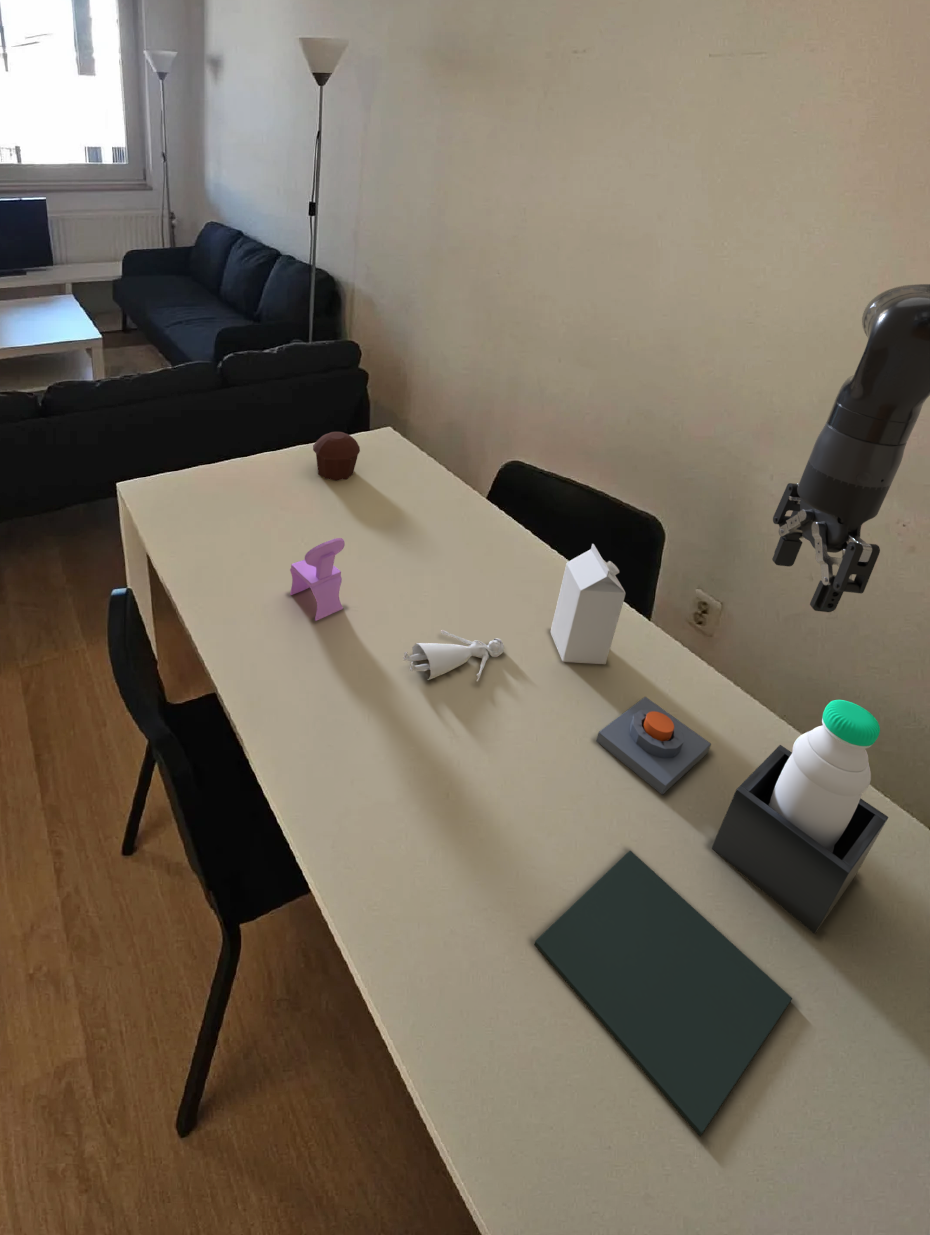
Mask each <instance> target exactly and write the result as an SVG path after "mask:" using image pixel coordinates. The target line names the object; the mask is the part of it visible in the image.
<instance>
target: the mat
mask: <svg viewBox="0 0 930 1235" xmlns="http://www.w3.org/2000/svg"><path fill="white" fill-rule="evenodd" d="M533 944H534V946H535V947H536V948H537V950H538V951H540V953H541V954H542V955H543V956H544V957H545V959H546V960H547V961H548V962H549V963H550V964H551V965H552V967H553V968H554V969H555V970H556V972H557V973H558V974H559V975H560V976H561V978H563V980H564V981H565V982H566V983H567V984H568V985H569V986H570V988H571V989H572V990H573V991H574V992H575V994H577V996H578V997H579V998H580V999H581V1000H582V1002H583V1003H584V1005H586V1006H587V1007H588V1009H589V1010H590V1011H591V1012H592V1013H593V1014H594V1016H595V1017H596V1018H597V1019H598V1020H599V1021H600V1023H602V1025H603V1026H604V1027H605V1028H606V1029H607V1031H608V1032H609V1033H610V1034H611V1035H612V1036H613V1038H615V1040H616V1041H617V1042H618V1043H619V1044H620V1046H621V1047H622V1048H623V1049H624V1050H625V1051H626V1052H627V1053H628V1055H629V1056H630V1057H631V1059H633V1061H634V1062H635V1063H636V1064H637V1065H638V1066H639V1067H640V1068H641V1070H642V1071H643V1072H644V1073H645V1075H646V1076H647V1077H648V1078H649V1079H650V1080H651V1081H652V1083H653V1084H654V1085H655V1086H656V1087H657V1088H658V1090H659V1091H660V1092H661V1093H662V1094H663V1096H664V1097H665V1098H666V1099H667V1100H668V1101H669V1102H670V1103H671V1105H672V1106H673V1107H674V1109H676V1110H677V1111H678V1113H679V1114H680V1115H681V1116H682V1118H683V1119H684V1120H685V1121H686V1122H687V1123H688V1125H689V1126H691V1128H692V1129H693V1130H694V1132H696V1134H697V1135H698V1136H699V1137H701V1136H702V1135H703V1133H704V1132H705V1131H706V1129H707V1127H708V1126H709V1125H710V1123H711V1121H712V1120H713V1119H714V1117H715V1116H716V1114H717V1113H718V1112H719V1110H720V1109H721V1107H722V1106H723V1104H724V1102H725V1101H726V1100H727V1097H728V1096H729V1095H730V1094H731V1092H732V1090H733V1089H734V1087H735V1085H736V1084H737V1083H738V1081H739V1079H740V1078H741V1077H742V1075H743V1073H744V1072H745V1071H746V1069H747V1068H748V1066H749V1064H750V1063H751V1061H752V1060H753V1059H754V1057H755V1056H756V1054H758V1051H759V1050H760V1048H761V1046H762V1045H763V1044H764V1042H765V1041H766V1039H767V1038H768V1036H769V1035H770V1033H771V1032H772V1030H773V1029H774V1027H775V1026H776V1024H777V1023H778V1021H779V1019H780V1018H781V1017H782V1015H784V1012H785V1011H786V1009H787V1007H788V1006H789V1005H790V1003H791V1002H792V1000H793V998H792V996H790V995H789V994H788V993H787V992H786V991H785V990H784V989H783V987H781V986H780V985H778V984H777V983H776V982H775V981H774V980H773V979H772V978H771V977H770V976H769V975H768V974H766V973H765V972H764V971H763V970H762V969H761V968H760V967H759V966H757V964H756V963H754V962H753V960H751V959H750V958H749V957H748V956H747V955H745V954H744V952H742V951H741V950H740V949H739V948H738V947H737V946H736V945H735V944H733V942H731V941H730V940H729V939H728V938H727V937H726V936H725V935H724V934H723V933H722V932H721V931H720V930H718V929H717V928H716V927H715V926H714V925H713V924H712V923H711V922H710V921H709V920H707V919H706V918H705V916H703V915H702V914H700V912H699V911H698V910H697V909H695V908H694V907H693V906H692V905H691V904H690V903H689V902H688V901H686V900H685V898H684V897H682V896H681V895H680V894H679V893H677V891H675V889H673V888H672V887H671V886H670V885H669V884H668V883H667V882H665V880H664V879H663V878H662V877H660V876H659V875H658V874H657V873H656V872H655V871H654V870H653V869H651V868H650V867H649V866H648V865H647V864H646V863H645V862H644V861H643V860H641V859H640V858H639V857H638V856H637V855H636V854H635V853H634V852H633V851H632V850H628V852H626V854H624V855H623V856H622V857H620V859H619V860H618V861H617V862H616V863H615V864H614V865H613V866H611V868H610V869H608V871H607V872H606V873H605V874H603V876H601V877H600V878H599V879H598V880H597V881H596V882H595V883H594V884H593V885H591V887H590V888H589V889H588V890H586V892H585V893H584V894H583V895H581V897H579V899H577V900H576V901H575V902H574V903H573V904H572V905H571V906H570V907H569V908H568V909H567V910H566V911H565V912H564V913H563V914H562V915H561V916H559V918H557V919H556V920H555V921H554V922H553V923H552V925H550V926H549V927H548V928H547V929H546V930H545V931H544V932H543V933H542V934H541V935H540V936H539V937H538V938H537V939H536V940H534V943H533Z"/></svg>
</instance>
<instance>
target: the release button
mask: <svg viewBox="0 0 930 1235" xmlns="http://www.w3.org/2000/svg"><path fill="white" fill-rule="evenodd" d="M643 727H644V730H645V731H646V733H647V734H648V735H650V736H651V737H652V738H654V739H657V740H660V741H668V740H669V739H670V738H671V736H672V733H673V730H674V724H673V722H672V720H671V719H670V718H669V717H667V716H666V715H664V714H662V713H660V712H655V711H653V712H649V713H648V714H647V715H646V718H645V721H644V724H643Z"/></svg>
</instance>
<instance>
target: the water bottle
mask: <svg viewBox="0 0 930 1235" xmlns="http://www.w3.org/2000/svg"><path fill="white" fill-rule="evenodd" d="M821 724H822V725H819V726H816V727H814V728H812V729H811V730H808V731H806V732H805V733H802V734H801V735H799V736H798V737H797V738H796V740H795V741H794V743H793V745H792V751H791V752H792V754H791V756H790V757H789V759H788V760H787V762H786V764H785V766H784V768H783V770H782V772H781V774H780V776H779V778H778V781H777V783H776V785H775V788H774V790H773V793H772V796H771V799H770V803H769V804H768V806H769V807H771V808H772V809H773V810H775V811H776V812H777V813H779V814H780V815H781V816H783V817H784V818H785V819H787V820H788V821H789V822H791V823H792V824H794V825H795V826H796V827H798V828H799V829H800V830H802V831H803V832H804V833H806V834H807V835H808V836H810V837H811V838H812V839H814V840H815V841H817V842H818V843H819V844H821V845H822V846H823V847H825V848H826V849H827V850H829V851H830V852H831V853H833V850H834V845H835V844H836V842H837V841H838V840H839V838H840V837H841V835H842V834H843V832H844V831H845V829H846V827H847V825H848V824H849V822H850V820H851V818H852V816H853V814H854V812H855V810H856V808H857V805H858V803H859V801H860V798H861V799H862V795H863V794H864V793H865V792H866V791H867V789H868V788H869V786H870V785H871V781H872V772H871V768H870V764H869V755H868V752H867V749H869V748H871V747H872V746H873V745H874V744H875V743H876V741H877V740H878V738H879V736H880V733H881V727H880V723H879V721H878V720H877V719H876V717H875V716H874V715H873V714H872V713H871V712H870V711H869V710H868V709H865V708H864V707H863V706H861V705H860V704H859V705H858V704H857V703H854V702H853V701H849V700H845V699H835V700H831V701H830V702H828V704H827V705H826V706H825V708H824V710H823V712H822V718H821Z"/></svg>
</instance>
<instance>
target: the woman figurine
mask: <svg viewBox="0 0 930 1235" xmlns="http://www.w3.org/2000/svg"><path fill="white" fill-rule="evenodd" d="M440 633H441V635H445V636H448V637H451V638H453V639H455V640H457V641H459V642H461V643H463V644H466V645H462V644H456V643H455V644H454V643H437V642H415V643H414V644H413V646H412V647H411V648H412V649H411V650H412V652H411V653H412V654H411V655H409V654H408V651H404V652H403V658H402V660H403V661H410V663H409V666H410V667H409V671H411V672H427V671H429V670H430V675H429V677H428V678H427V679H426V680H427V681H430V680H432V679H435V678H438V677H439V676H442V675H444V674H446V673H449V672H450V671H452V670H454V669H457V668H459V667H460V666H462V665H464V664H465V663H467V662H468V661H469V659H470V658H471V657H476V658H478V659H479V658H480V659H481V662H480V665H479V670H478V673H476V675H475V676H477V679H476V680H475V681H476V682H479V681H480V678H481V675H482V672H483V670H484V668H485V666H486V662H487V661H488V660H489V659H490V656H491V657H492V658H497V657H499V656H501V655H502V654H503V653H504V651H505V645H504V642H503V640H502V639H501V638H494V639H492V640H490V641H489V642H488V644H486V643H484V642H483V641H481V640H477V639H475V640H473V641H471V640H468V639H466V638H464V637H461V636H458V635H455V634H453V633H450V632H448V631H446V630H444V629H441V630H440ZM467 645H468V646H467ZM424 660H428V663H421V664H416V665H415V664H414V662H419V661H424Z"/></svg>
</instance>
